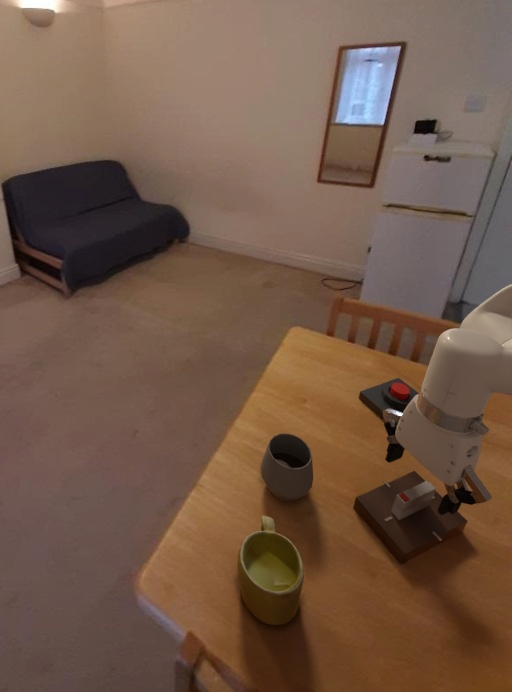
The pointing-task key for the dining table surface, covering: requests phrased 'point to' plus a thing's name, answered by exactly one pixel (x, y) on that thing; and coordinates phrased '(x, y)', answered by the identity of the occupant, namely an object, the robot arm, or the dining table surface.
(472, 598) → the dining table surface
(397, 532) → the switch base
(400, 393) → the timer button
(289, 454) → the cup
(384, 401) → the black button base
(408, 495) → the dial knob
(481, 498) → the robot arm
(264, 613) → the mug
